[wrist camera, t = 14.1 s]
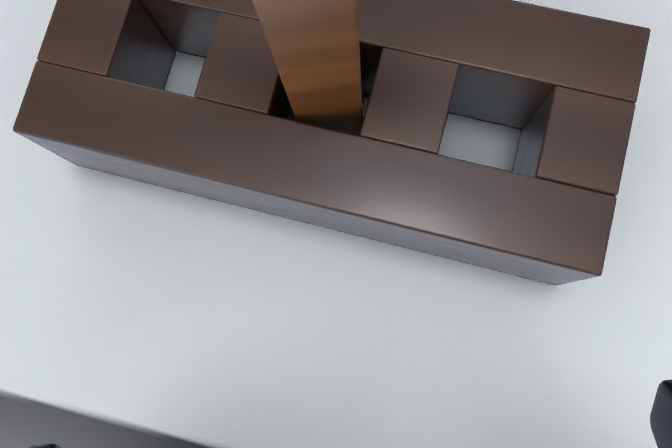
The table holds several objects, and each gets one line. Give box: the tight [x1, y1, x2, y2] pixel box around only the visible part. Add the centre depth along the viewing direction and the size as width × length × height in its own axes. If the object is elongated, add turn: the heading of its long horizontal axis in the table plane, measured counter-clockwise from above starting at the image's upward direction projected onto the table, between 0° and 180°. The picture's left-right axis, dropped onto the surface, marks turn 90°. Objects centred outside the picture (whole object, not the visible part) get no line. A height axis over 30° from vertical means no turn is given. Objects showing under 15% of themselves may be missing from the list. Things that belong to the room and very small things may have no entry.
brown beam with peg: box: [252, 0, 363, 136], centre depth 17 cm, size 2×7×16 cm, turn 95°
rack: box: [13, 0, 650, 285], centre depth 22 cm, size 8×19×4 cm, turn 75°
